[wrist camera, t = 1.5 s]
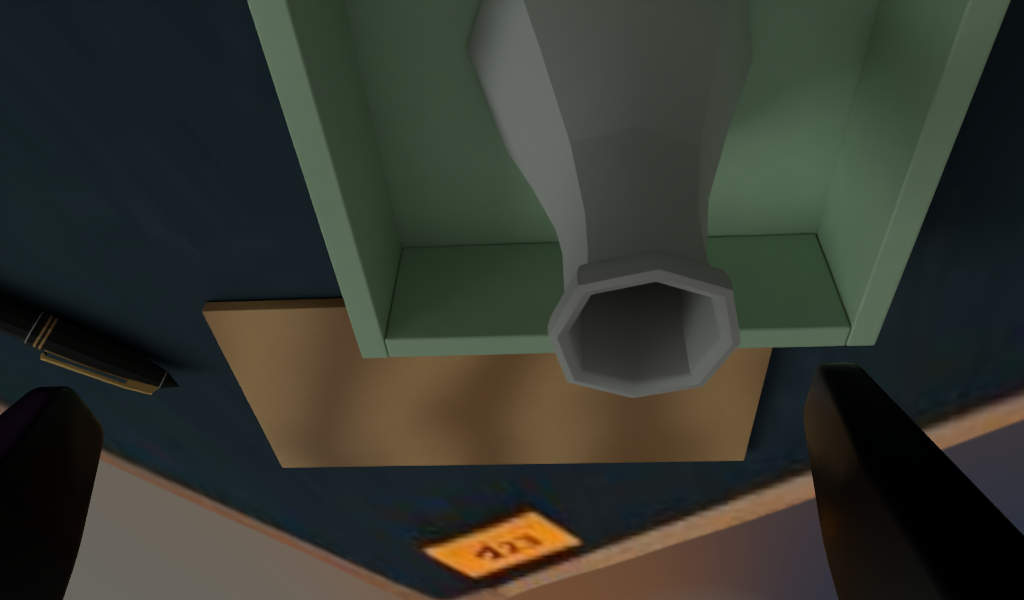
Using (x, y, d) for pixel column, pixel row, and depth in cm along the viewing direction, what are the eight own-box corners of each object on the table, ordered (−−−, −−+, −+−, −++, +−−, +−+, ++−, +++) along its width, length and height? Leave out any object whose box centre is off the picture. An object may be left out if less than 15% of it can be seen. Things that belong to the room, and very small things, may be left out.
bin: (1011, -349, 14) (1136, -311, 11) (834, 244, 25) (875, 346, 22) (243, -284, 15) (170, -233, 12) (383, 259, 26) (362, 359, 23)
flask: (720, 168, 22) (802, 467, 15) (470, 161, 22) (438, 455, 15) (789, -100, 17) (957, 167, 10) (463, -109, 17) (408, 151, 10)
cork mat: (783, 283, 26) (786, 294, 26) (742, 451, 33) (744, 461, 33) (205, 301, 27) (201, 311, 27) (284, 458, 35) (282, 468, 34)
